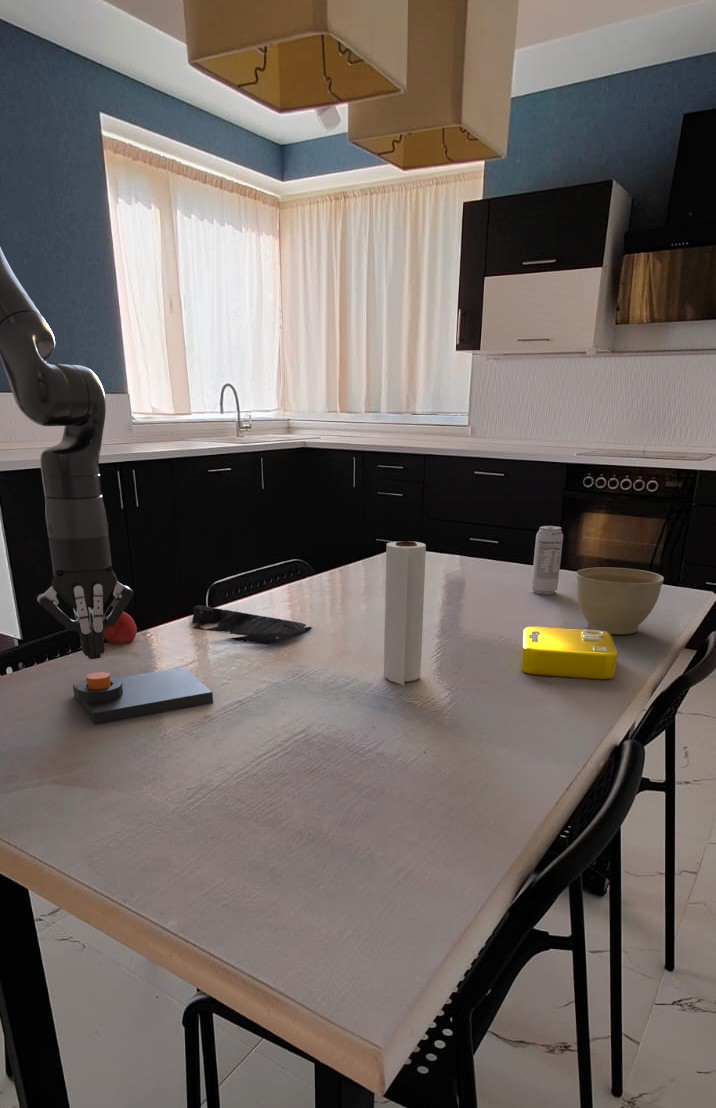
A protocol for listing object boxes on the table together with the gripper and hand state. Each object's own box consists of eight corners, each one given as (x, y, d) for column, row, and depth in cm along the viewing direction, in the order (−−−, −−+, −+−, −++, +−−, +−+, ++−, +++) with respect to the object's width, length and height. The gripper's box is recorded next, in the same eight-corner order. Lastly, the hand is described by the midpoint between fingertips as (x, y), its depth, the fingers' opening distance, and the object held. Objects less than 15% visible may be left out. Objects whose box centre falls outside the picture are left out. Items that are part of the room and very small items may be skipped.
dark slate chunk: (275, 651, 137) (274, 625, 135) (177, 635, 146) (175, 610, 144) (318, 631, 149) (317, 607, 148) (225, 617, 158) (223, 594, 157)
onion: (97, 652, 136) (92, 607, 133) (118, 643, 141) (113, 600, 137) (124, 656, 134) (119, 610, 131) (145, 647, 139) (140, 603, 135)
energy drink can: (556, 590, 184) (564, 526, 178) (556, 595, 179) (564, 529, 173) (531, 588, 185) (537, 525, 180) (530, 594, 180) (536, 528, 174)
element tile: (521, 648, 140) (524, 622, 138) (607, 654, 137) (610, 628, 135) (520, 674, 126) (523, 646, 125) (615, 681, 124) (619, 652, 122)
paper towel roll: (396, 668, 129) (400, 538, 120) (427, 675, 126) (433, 542, 117) (371, 679, 123) (374, 544, 115) (403, 687, 120) (408, 548, 112)
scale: (91, 726, 105) (87, 702, 103) (70, 697, 115) (67, 675, 113) (213, 704, 113) (211, 681, 111) (184, 678, 123) (182, 657, 122)
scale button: (90, 692, 108) (88, 680, 107) (85, 685, 110) (83, 673, 110) (113, 688, 109) (112, 676, 109) (107, 681, 112) (106, 670, 111)
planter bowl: (672, 632, 151) (681, 577, 146) (618, 645, 142) (627, 587, 138) (605, 615, 163) (612, 563, 158) (552, 626, 154) (558, 571, 150)
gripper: (121, 524, 107) (133, 644, 114) (20, 530, 101) (39, 656, 108) (136, 532, 101) (148, 658, 108) (29, 539, 95) (49, 672, 102)
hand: (93, 657), depth 108 cm, fingers closed
